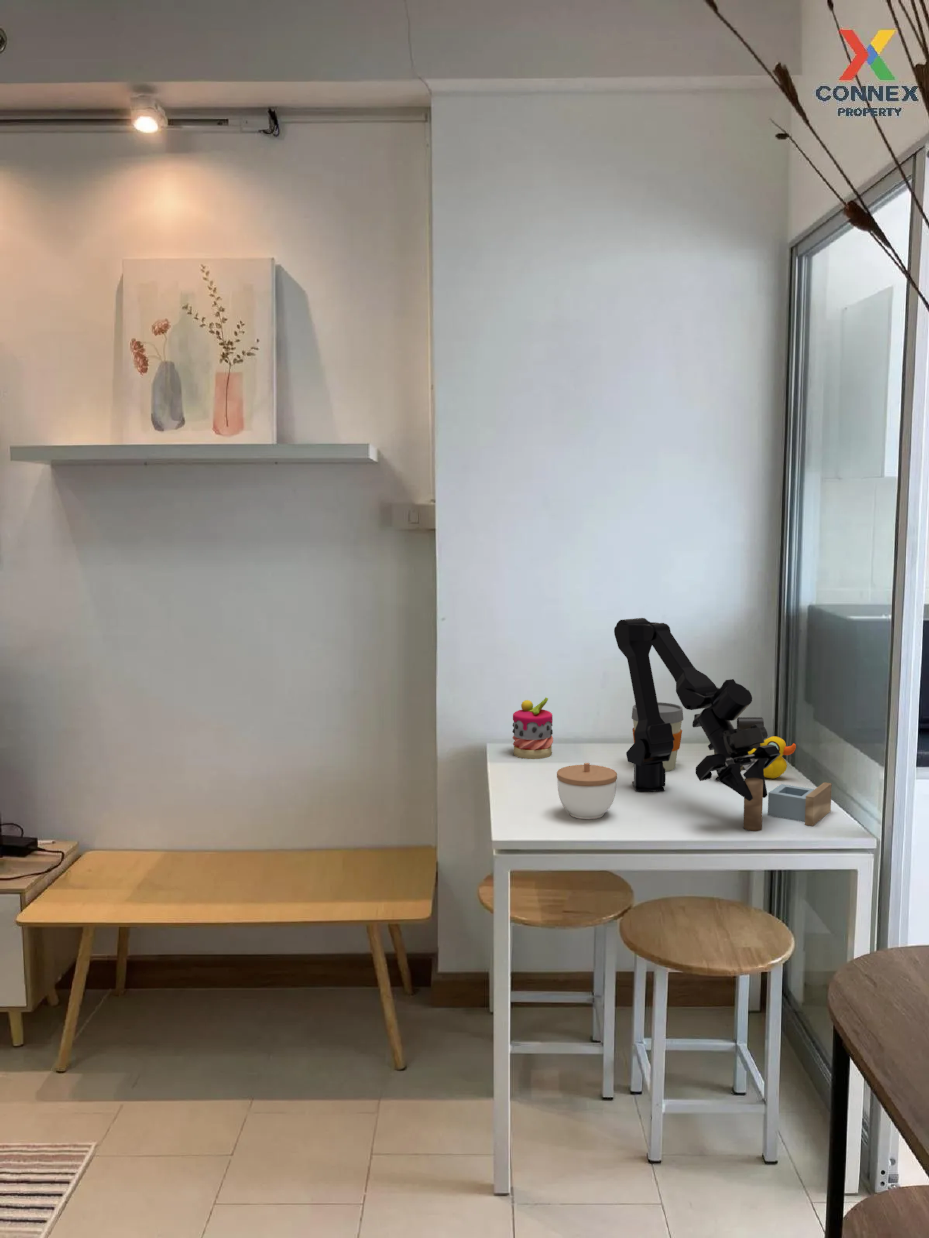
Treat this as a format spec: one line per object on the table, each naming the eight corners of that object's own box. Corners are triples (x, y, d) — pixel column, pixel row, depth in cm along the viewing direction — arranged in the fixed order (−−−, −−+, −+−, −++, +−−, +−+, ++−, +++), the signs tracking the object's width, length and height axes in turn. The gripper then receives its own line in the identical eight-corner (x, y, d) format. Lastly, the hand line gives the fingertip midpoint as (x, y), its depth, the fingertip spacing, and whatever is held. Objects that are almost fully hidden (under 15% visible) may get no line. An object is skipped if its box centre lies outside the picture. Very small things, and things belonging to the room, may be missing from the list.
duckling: (797, 778, 243) (799, 736, 242) (791, 783, 239) (792, 741, 237) (750, 771, 249) (751, 731, 248) (743, 776, 245) (744, 735, 244)
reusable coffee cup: (632, 773, 249) (632, 712, 247) (629, 759, 261) (630, 701, 259) (684, 774, 248) (685, 713, 246) (680, 760, 260) (681, 702, 258)
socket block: (767, 815, 216) (768, 792, 216) (780, 806, 223) (781, 783, 222) (805, 822, 212) (806, 799, 211) (818, 812, 218) (818, 789, 217)
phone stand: (765, 770, 250) (766, 721, 249) (740, 770, 251) (741, 721, 249) (757, 760, 259) (758, 713, 258) (733, 760, 260) (734, 713, 258)
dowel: (745, 831, 206) (747, 782, 205) (741, 825, 210) (742, 777, 209) (763, 830, 206) (765, 782, 205) (759, 825, 210) (760, 777, 208)
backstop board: (804, 824, 210) (805, 796, 209) (823, 809, 219) (823, 782, 219) (812, 826, 209) (813, 797, 208) (830, 810, 218) (831, 783, 218)
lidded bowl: (544, 815, 217) (544, 764, 216) (578, 801, 227) (578, 752, 226) (595, 827, 209) (595, 774, 208) (628, 812, 219) (628, 762, 217)
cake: (512, 759, 263) (512, 701, 261) (512, 749, 273) (512, 693, 271) (553, 759, 262) (553, 701, 261) (551, 749, 273) (551, 693, 271)
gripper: (706, 716, 204) (745, 784, 196) (774, 706, 213) (814, 770, 205) (679, 746, 212) (715, 813, 204) (746, 735, 221) (783, 798, 213)
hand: (758, 798), depth 206 cm, fingers closed on dowel, 4 cm apart
